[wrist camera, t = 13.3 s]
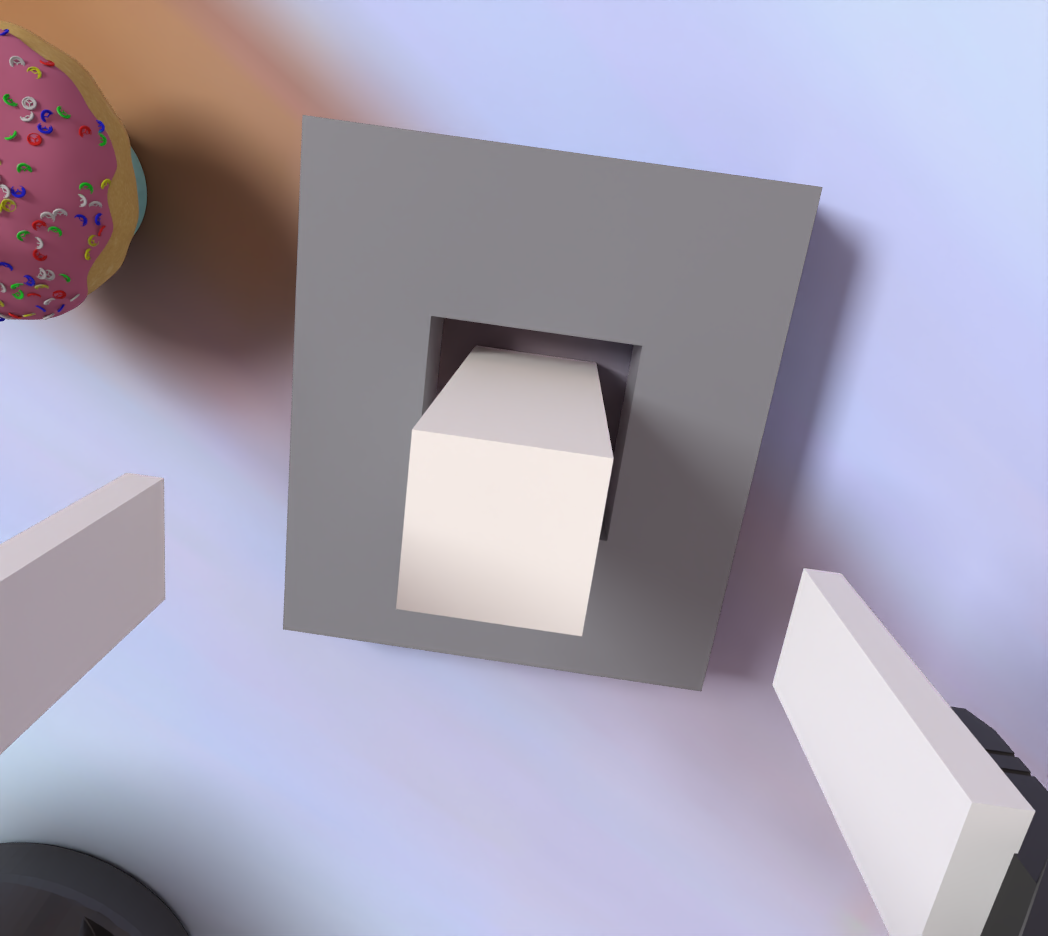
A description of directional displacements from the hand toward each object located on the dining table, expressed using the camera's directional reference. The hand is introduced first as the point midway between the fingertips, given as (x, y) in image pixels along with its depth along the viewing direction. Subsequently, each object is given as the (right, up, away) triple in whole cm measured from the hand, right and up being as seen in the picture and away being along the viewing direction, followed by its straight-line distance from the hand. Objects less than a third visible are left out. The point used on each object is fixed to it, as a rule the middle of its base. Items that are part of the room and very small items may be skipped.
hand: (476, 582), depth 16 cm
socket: (+1, +5, +13) cm, 14 cm away
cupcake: (-15, +13, +12) cm, 23 cm away
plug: (+1, +5, +13) cm, 14 cm away
